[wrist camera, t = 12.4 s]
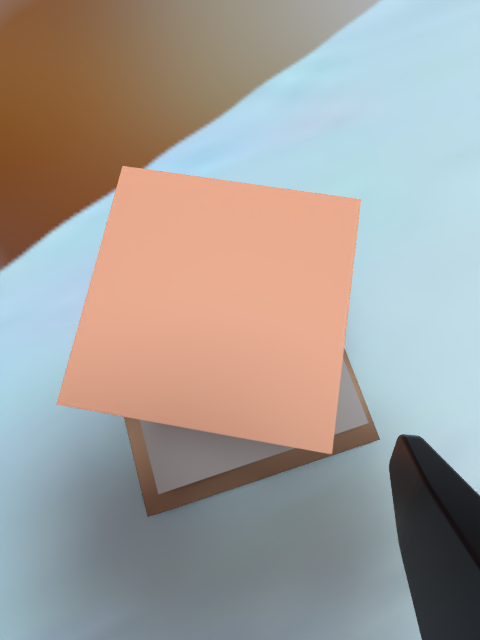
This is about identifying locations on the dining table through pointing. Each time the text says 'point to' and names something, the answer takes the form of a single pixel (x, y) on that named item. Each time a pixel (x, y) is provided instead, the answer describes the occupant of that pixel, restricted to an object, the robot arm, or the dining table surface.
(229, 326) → the terracotta block
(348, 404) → the grey square slab
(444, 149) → the dining table surface
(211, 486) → the tower base block
